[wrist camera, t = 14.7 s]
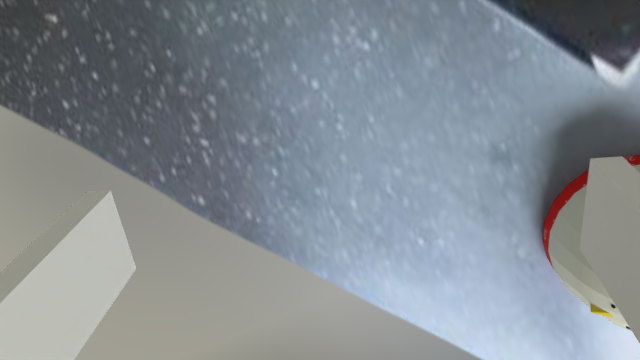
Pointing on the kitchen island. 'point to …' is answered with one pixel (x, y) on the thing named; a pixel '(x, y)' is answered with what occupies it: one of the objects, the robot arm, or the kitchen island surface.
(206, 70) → the kitchen island surface
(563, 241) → the kitchen timer
